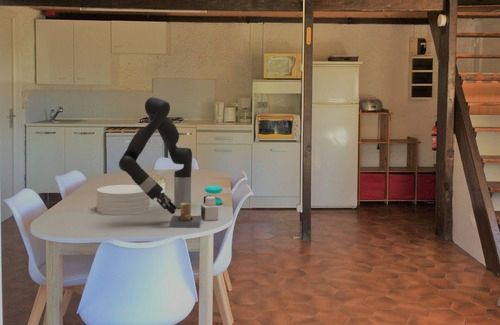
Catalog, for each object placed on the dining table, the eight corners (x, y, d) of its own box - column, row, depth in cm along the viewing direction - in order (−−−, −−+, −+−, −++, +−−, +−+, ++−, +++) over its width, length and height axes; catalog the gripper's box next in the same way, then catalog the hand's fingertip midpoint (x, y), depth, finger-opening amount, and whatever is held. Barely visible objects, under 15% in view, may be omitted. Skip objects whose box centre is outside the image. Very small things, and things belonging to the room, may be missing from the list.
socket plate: (169, 227, 266) (169, 222, 266) (172, 220, 280) (172, 215, 280) (199, 227, 267) (199, 222, 266) (200, 220, 281) (200, 215, 280)
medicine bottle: (200, 218, 287) (201, 195, 285) (214, 217, 289) (214, 194, 288) (204, 221, 280) (204, 197, 278) (218, 220, 282) (218, 196, 281)
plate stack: (155, 205, 316) (155, 185, 315) (141, 216, 288) (141, 194, 287) (107, 203, 319) (107, 183, 317) (88, 214, 291) (88, 192, 290)
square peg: (180, 224, 271) (180, 204, 270) (181, 222, 276) (181, 202, 274) (189, 225, 271) (190, 204, 270) (190, 222, 276) (190, 203, 274)
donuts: (225, 187, 320) (208, 188, 316) (224, 204, 321) (208, 206, 317) (218, 185, 329) (202, 185, 325) (218, 201, 330) (202, 202, 326)
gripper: (154, 184, 263) (179, 209, 265) (158, 180, 277) (181, 203, 279) (143, 195, 263) (167, 219, 265) (147, 190, 277) (170, 213, 279)
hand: (174, 211), depth 272 cm, fingers open, 8 cm apart
